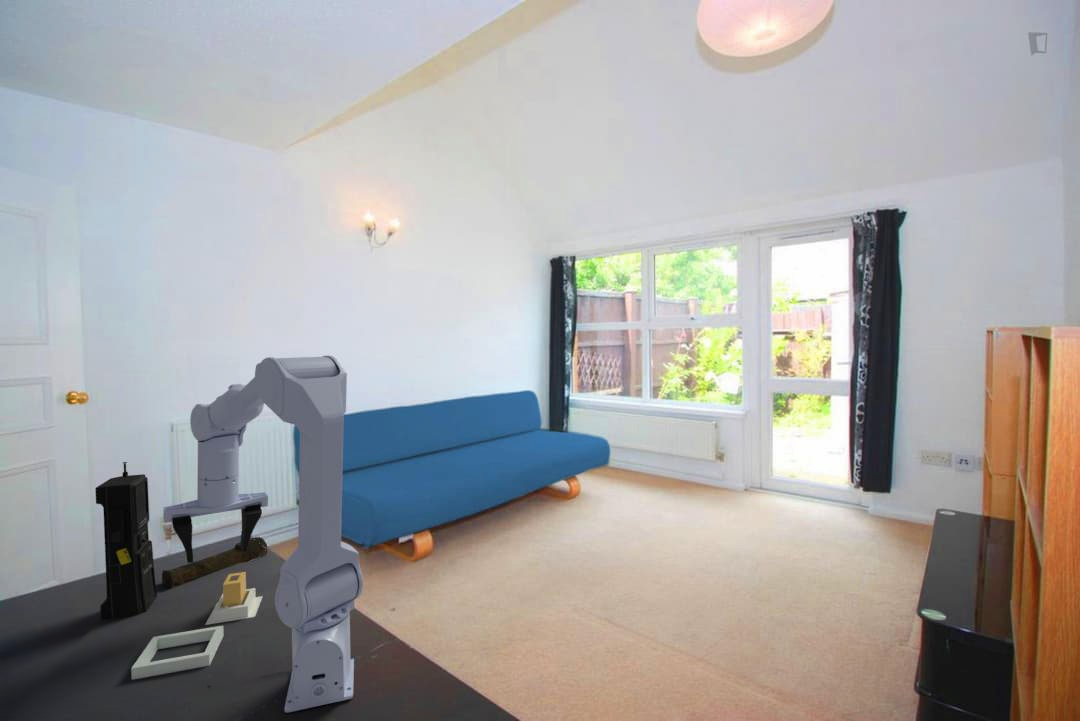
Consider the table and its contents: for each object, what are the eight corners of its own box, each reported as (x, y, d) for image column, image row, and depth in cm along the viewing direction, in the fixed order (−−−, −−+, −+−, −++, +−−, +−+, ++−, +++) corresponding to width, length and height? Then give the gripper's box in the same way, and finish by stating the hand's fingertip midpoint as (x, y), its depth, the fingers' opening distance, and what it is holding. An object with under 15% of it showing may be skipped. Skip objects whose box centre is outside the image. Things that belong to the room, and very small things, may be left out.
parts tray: (209, 670, 71) (209, 654, 71) (131, 685, 68) (131, 668, 68) (223, 640, 78) (223, 625, 78) (153, 651, 75) (153, 636, 75)
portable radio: (143, 621, 83) (137, 470, 82) (97, 628, 81) (91, 474, 80) (158, 598, 91) (154, 459, 90) (117, 604, 89) (111, 462, 87)
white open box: (254, 621, 83) (254, 605, 83) (205, 629, 81) (204, 613, 81) (262, 600, 90) (262, 586, 90) (217, 607, 88) (216, 592, 87)
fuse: (241, 614, 84) (240, 581, 84) (223, 617, 83) (222, 584, 83) (246, 602, 88) (245, 571, 87) (229, 605, 87) (228, 573, 87)
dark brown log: (169, 595, 92) (168, 570, 92) (160, 589, 95) (159, 564, 94) (273, 558, 108) (273, 537, 108) (264, 554, 110) (263, 533, 110)
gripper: (263, 462, 91) (262, 535, 93) (162, 474, 82) (162, 555, 84) (271, 474, 86) (269, 551, 87) (164, 487, 77) (164, 573, 78)
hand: (217, 554), depth 85 cm, fingers open, 7 cm apart
